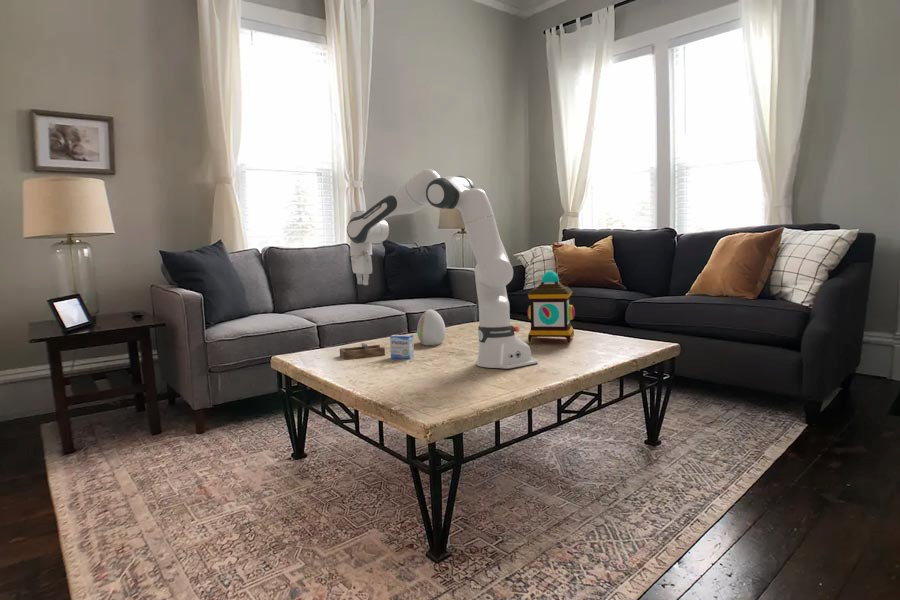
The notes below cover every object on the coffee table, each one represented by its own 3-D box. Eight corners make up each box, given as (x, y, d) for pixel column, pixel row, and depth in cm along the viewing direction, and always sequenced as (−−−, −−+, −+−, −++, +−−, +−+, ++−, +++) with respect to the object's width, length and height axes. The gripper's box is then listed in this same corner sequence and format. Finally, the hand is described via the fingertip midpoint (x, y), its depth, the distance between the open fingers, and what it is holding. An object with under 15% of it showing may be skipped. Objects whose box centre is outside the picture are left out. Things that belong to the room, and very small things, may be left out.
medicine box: (390, 358, 205) (389, 336, 205) (395, 356, 210) (394, 334, 209) (410, 359, 203) (409, 336, 202) (414, 357, 207) (413, 334, 207)
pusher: (364, 352, 217) (363, 343, 217) (367, 354, 212) (367, 344, 212) (361, 352, 216) (361, 343, 216) (365, 354, 211) (364, 345, 211)
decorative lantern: (577, 337, 241) (576, 269, 238) (573, 344, 222) (572, 270, 219) (531, 336, 247) (530, 270, 244) (524, 343, 228) (522, 272, 226)
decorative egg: (424, 341, 244) (423, 308, 242) (450, 342, 239) (448, 308, 238) (413, 346, 232) (411, 311, 231) (440, 346, 228) (438, 311, 227)
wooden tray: (379, 352, 221) (379, 344, 220) (384, 355, 213) (384, 347, 213) (339, 356, 214) (339, 348, 214) (344, 359, 207) (343, 351, 207)
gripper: (375, 250, 217) (376, 285, 218) (362, 251, 236) (364, 283, 237) (359, 250, 214) (361, 286, 216) (348, 251, 233) (350, 284, 234)
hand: (362, 284), depth 226 cm, fingers open, 8 cm apart
